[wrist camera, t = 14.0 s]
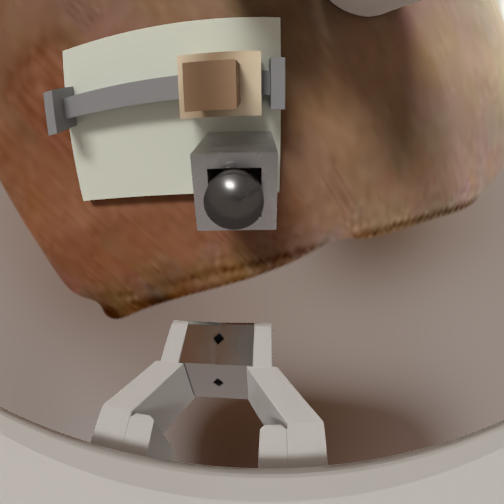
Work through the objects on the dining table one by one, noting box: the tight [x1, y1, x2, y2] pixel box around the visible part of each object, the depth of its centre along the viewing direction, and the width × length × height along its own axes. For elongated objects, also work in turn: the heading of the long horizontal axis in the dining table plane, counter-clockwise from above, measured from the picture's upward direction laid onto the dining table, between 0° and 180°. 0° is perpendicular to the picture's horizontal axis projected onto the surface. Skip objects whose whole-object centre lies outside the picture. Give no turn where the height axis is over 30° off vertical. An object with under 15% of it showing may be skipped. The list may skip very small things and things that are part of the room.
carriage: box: [177, 51, 262, 119], centre depth 18 cm, size 6×5×8 cm
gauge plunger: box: [204, 168, 264, 230], centre depth 21 cm, size 4×4×8 cm
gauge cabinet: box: [190, 131, 278, 231], centre depth 23 cm, size 5×6×9 cm
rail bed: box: [44, 17, 285, 201], centre depth 22 cm, size 20×16×5 cm
